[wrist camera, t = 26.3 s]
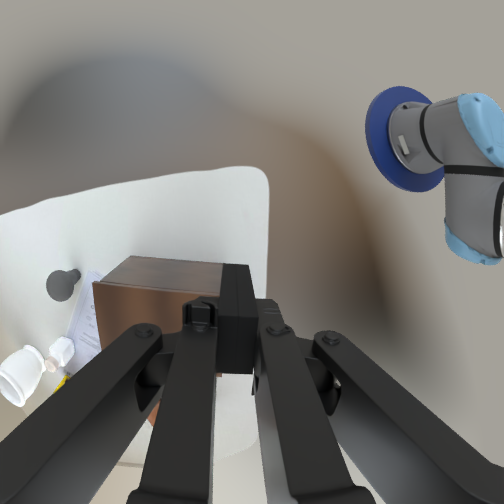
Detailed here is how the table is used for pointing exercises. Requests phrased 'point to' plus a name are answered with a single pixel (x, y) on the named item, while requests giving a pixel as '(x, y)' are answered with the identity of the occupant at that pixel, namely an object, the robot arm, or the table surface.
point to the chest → (167, 274)
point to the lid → (138, 308)
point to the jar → (21, 374)
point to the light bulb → (62, 284)
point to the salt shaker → (59, 353)
